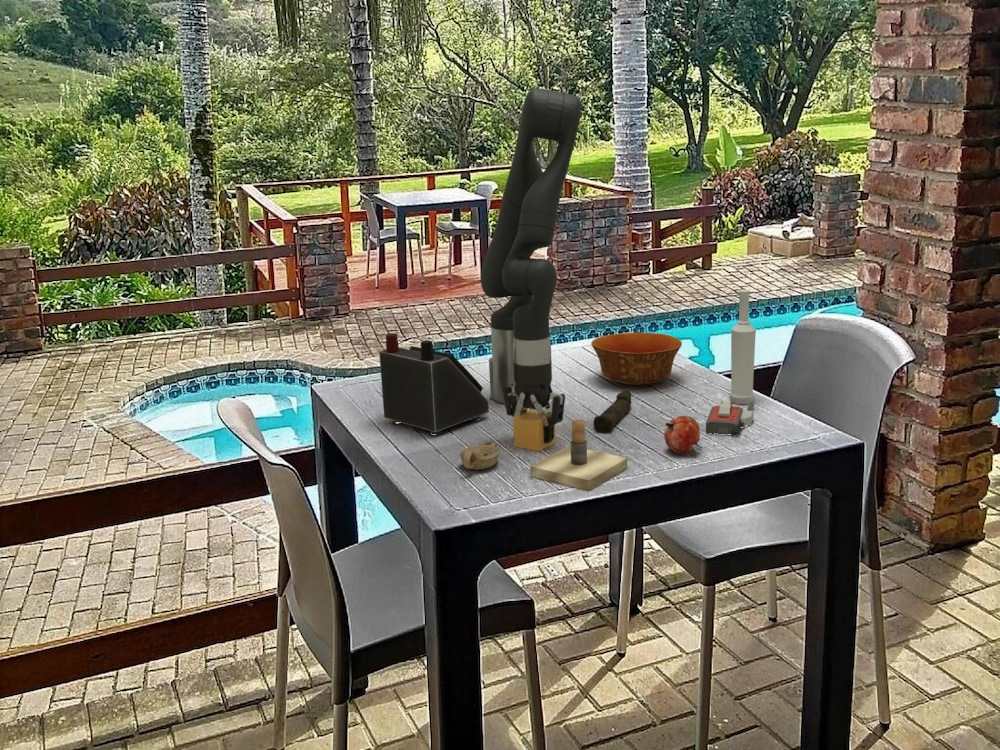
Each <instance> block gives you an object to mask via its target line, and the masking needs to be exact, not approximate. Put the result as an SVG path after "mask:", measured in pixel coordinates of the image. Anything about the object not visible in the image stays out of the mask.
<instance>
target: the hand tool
mask: <svg viewBox="0 0 1000 750" xmlns="http://www.w3.org/2000/svg"><path fill="white" fill-rule="evenodd" d="M631 405H632V392H631V390H630V389H624V390H622V391H621V392H619V393H617V395H616V399H615V400H614V402H613V403H612V404H611V405H609V407H607V408H606V409H605V410H604V411H603V412H602V413H601V414H599V415H598V416H594V419H593V429H594V431H595V432H596V433H603V434H609V433H611V432H612V430H613V428H614V426H615V425H616V423H617V422H619V421H620V419H622V417H623V416H624V415H628V414H629V413H630V411H631Z"/></svg>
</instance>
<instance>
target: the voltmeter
mask: <svg viewBox="0 0 1000 750" xmlns="http://www.w3.org/2000/svg"><path fill="white" fill-rule="evenodd" d="M385 346H386V348H385V349H383V350H379V351H378V352H379V353H378V354H379V366H380V377H381V378H380V379H381V391H382V392H381V394H382V406H383V418H384V419H388V420H391V421H392V422H393V423H394V422H401V423H402V424H405V425H408V426H412V427H416V428H420V429H423V430H426V431H429V432H430V434H431V433H432V434H440V433H442V430H445V429H448V428H451V427H453V426H456V425H459V424H461V423H464V422H466V421H469V420H471V419H472V420H471V421H479V420H478V419H481V416H482V415H486V414H488V413H490V401H489V400H488V399H487V397H485V396H484V394H483V393H482V391H483V389H484V387H483V386H482V385H481V384H480V383H479V381H478V380H477V379H476V378H475V377H474V376H473V375H472V373H470V371H468V369H467V368H466V367H465V366H464V365H463V364H462V363H461V362H460V361H459V360H458V359H457V358H456V357H455V356H454V355H453V354H451V353H446V352H443V351H439V350H438V351H437V350H434V346H433V341H432V340H422V341H420V347H418V346H413V345H412V346H410V347H409V348H403V347H400V345H399V340H398V333H387V334H386V335H385ZM440 435H441V434H440Z"/></svg>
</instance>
